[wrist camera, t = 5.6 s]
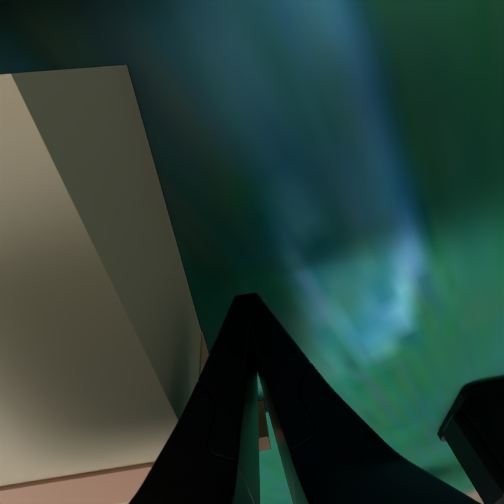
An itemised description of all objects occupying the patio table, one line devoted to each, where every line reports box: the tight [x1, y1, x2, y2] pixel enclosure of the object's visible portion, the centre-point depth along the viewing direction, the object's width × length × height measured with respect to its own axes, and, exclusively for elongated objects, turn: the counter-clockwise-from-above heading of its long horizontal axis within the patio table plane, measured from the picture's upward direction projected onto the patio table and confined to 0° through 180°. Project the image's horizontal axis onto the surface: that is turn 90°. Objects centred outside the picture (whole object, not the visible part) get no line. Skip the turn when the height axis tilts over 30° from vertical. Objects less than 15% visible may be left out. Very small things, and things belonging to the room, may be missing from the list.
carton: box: [0, 65, 209, 504], centre depth 8 cm, size 9×14×5 cm, turn 4°
